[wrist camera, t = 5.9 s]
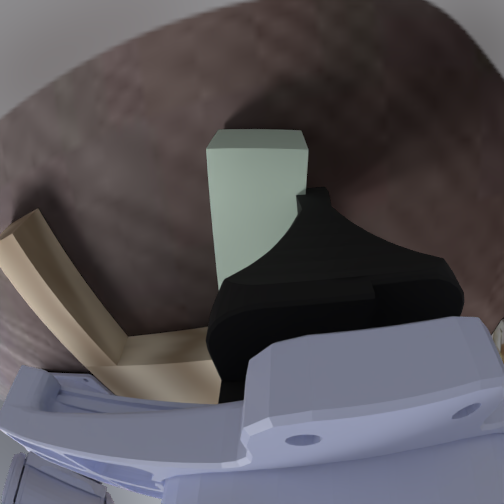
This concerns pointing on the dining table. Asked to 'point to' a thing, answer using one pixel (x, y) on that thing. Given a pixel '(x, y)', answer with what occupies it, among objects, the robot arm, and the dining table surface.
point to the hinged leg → (253, 192)
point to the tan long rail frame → (103, 324)
